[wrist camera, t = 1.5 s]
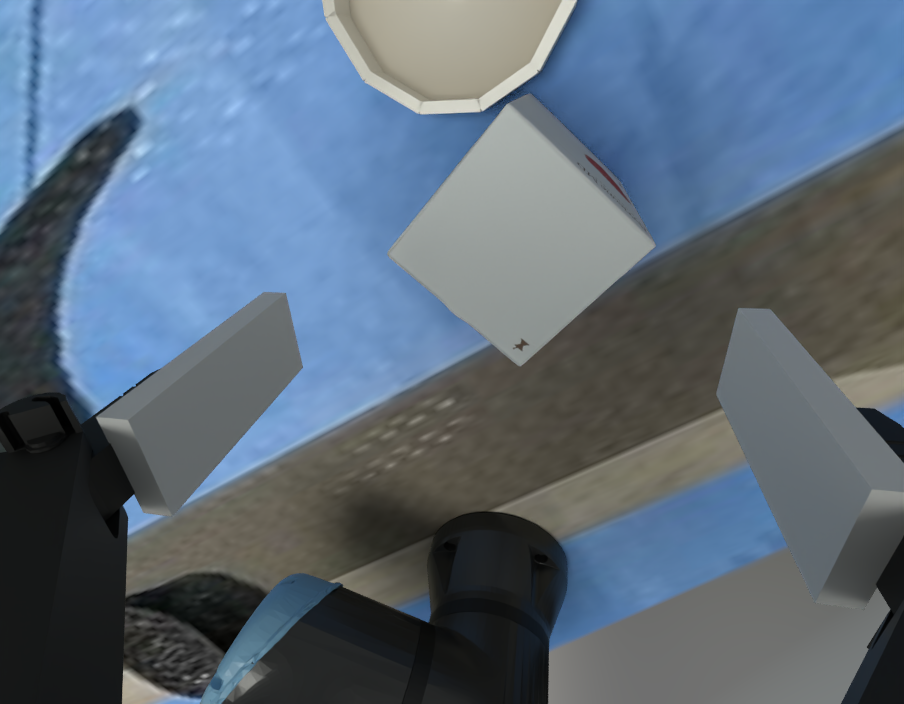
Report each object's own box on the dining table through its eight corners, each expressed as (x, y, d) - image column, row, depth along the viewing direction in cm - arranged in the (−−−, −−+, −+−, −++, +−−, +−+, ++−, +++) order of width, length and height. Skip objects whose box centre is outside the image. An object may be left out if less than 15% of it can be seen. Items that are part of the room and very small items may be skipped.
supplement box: (626, 183, 34) (666, 250, 21) (534, 273, 38) (520, 375, 25) (529, 86, 32) (508, 95, 19) (444, 192, 36) (381, 257, 24)
